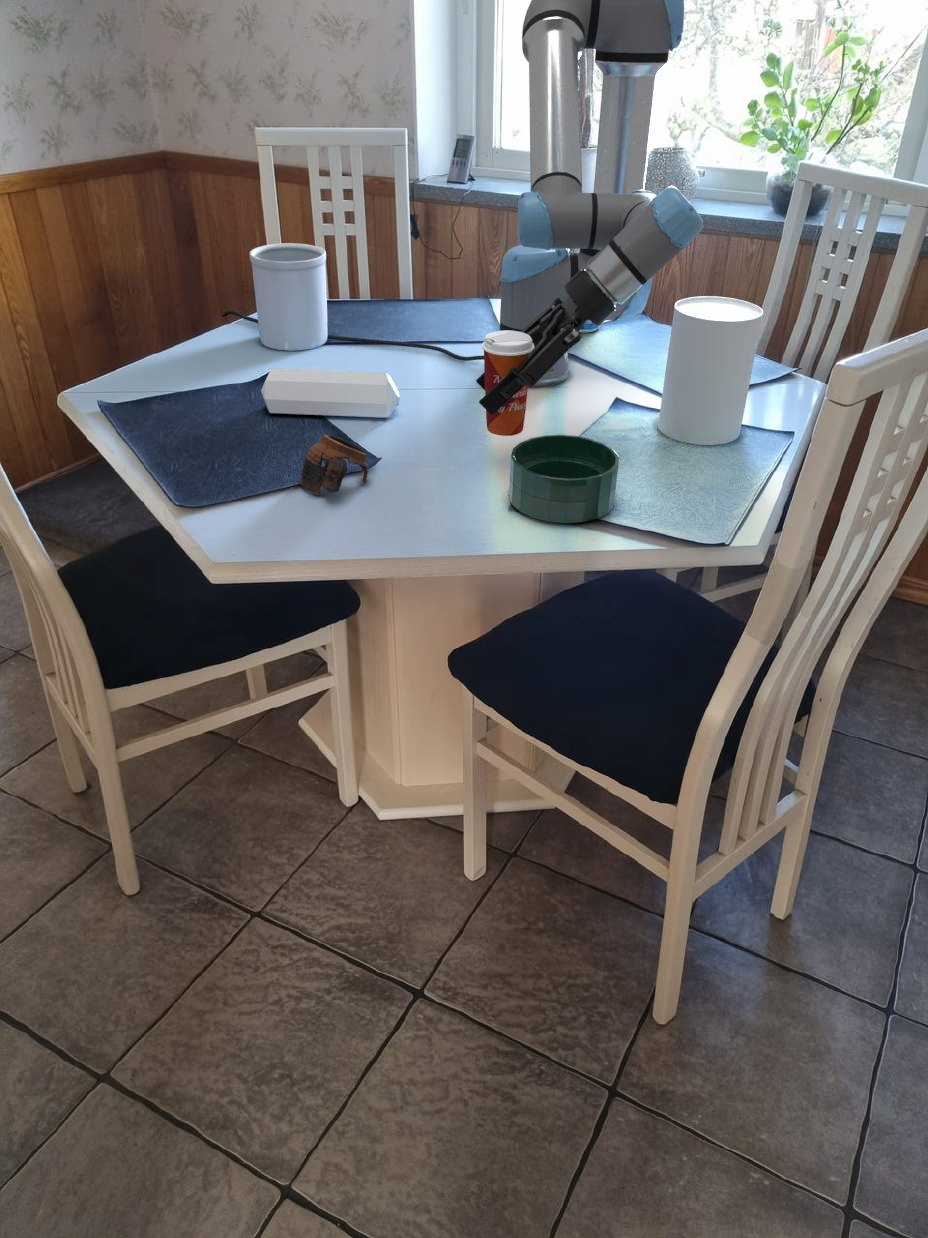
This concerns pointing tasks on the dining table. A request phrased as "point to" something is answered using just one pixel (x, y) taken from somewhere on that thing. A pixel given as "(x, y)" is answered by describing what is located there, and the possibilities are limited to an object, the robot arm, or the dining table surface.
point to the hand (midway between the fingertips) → (483, 397)
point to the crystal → (330, 393)
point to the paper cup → (498, 361)
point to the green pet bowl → (563, 478)
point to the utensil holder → (290, 295)
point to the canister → (709, 369)
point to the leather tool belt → (330, 464)
